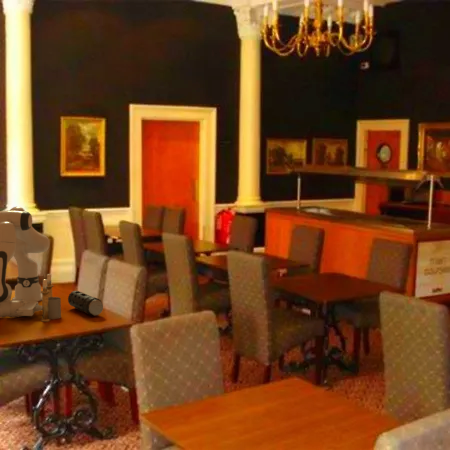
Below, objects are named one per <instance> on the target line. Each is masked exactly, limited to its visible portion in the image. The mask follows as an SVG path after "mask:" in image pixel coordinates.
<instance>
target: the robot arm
mask: <svg viewBox="0 0 450 450" xmlns="http://www.w3.org/2000/svg"><path fill="white" fill-rule="evenodd" d="M50 244H51V242H50V239H49V238H48V236H47V235H45V234H43V233H40V232H39V231H38V230H36V229H35V228H34V227H33V216H32V214H31V213H30V212H28V211H26V210H25V209H24V208H23V207H21V206H13V207H11V208H10V209H9V210H0V318H6V317H10V318H21V317H32V316H34V314H35V313H36V312H40V311H42V305H40V304H39V301H40V302H41V301H42V293H41V291H42V286H41V284H40V282H39V280H40V278H39V275H38V263H37V261H36V260H34V259H33V258H30V256H29V255H28V254H41V253H45V252H47V251H48V250H49V248H50V246H51V245H50ZM12 258H14V259H15V262H16V265H17V279H16V281H17V284H16V285H15V286H14V297H12V295H13V294H12V293H13V290H12V287H11V285H10V284H8V283H6V277H7V270H8V269H7V267H8V264H9V263H10V261H11V260H12Z"/></svg>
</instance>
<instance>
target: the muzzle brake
mask: <svg viewBox="0 0 450 450" xmlns="http://www.w3.org/2000/svg"><path fill="white" fill-rule="evenodd" d="M67 297H68V298H67V302H68V304H69V305H70V306H71V307H74V308H75V309H76V310H78V311H80V312H82V313H86V314H87V315H88V314H89V315H88V316H90V315H91V316H90V317H94V316H99V315H100V314H101V313H102V312H103V310H104V305H103V301H102V300H101V299H100V298H98V297H95V296H91V295H88V294H86V293H84V292H82V291H79V290H73V291H71V292H70V293H69V295H68V296H67Z"/></svg>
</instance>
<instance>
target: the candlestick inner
mask: <svg viewBox="0 0 450 450" xmlns="http://www.w3.org/2000/svg"><path fill="white" fill-rule="evenodd" d="M46 279H47V290H48V291H50V292H49V293H48V298H49V297H53V287H54V284H52V273H47V274H46Z"/></svg>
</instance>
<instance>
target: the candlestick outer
mask: <svg viewBox="0 0 450 450" xmlns="http://www.w3.org/2000/svg"><path fill="white" fill-rule="evenodd" d="M49 292H50V291H48V290H47V278H44V279H42V290H41V293H42V300H41V301H42V303H41V304H42V305H41V306H42V310H41V311H42V318H41V319H40V322H42V323H49V322H51V319H50V318H49V312H48V293H49Z"/></svg>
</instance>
